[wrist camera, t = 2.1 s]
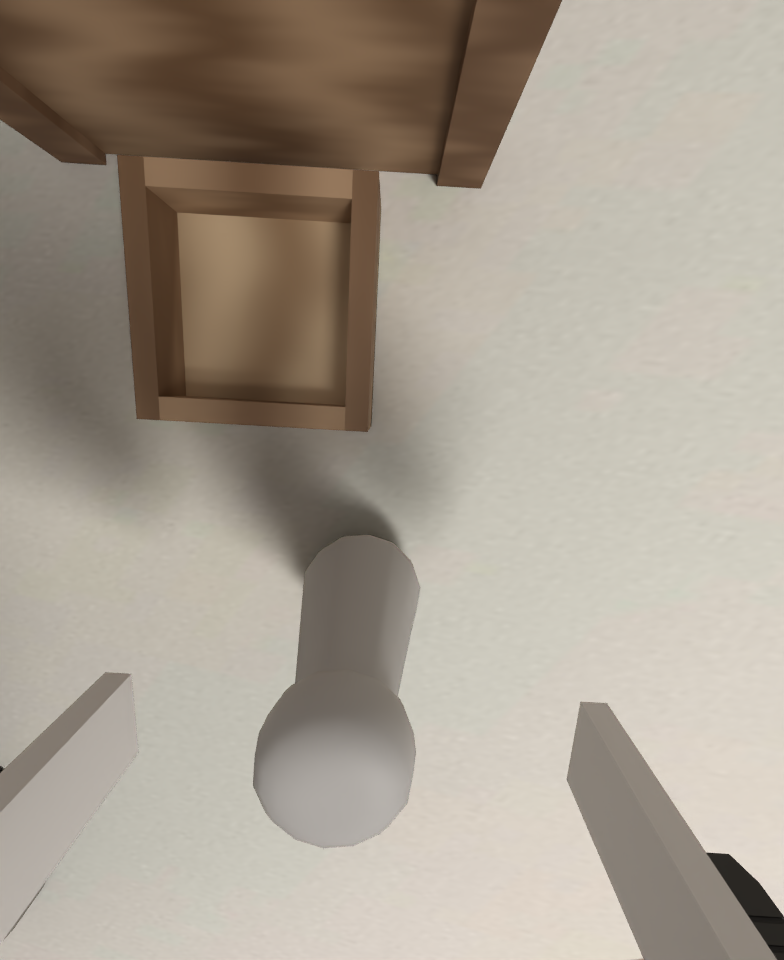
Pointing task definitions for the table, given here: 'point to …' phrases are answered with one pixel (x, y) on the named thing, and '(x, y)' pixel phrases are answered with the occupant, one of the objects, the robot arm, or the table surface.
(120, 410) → the table surface
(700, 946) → the robot arm
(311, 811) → the salt shaker
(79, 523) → the table surface
